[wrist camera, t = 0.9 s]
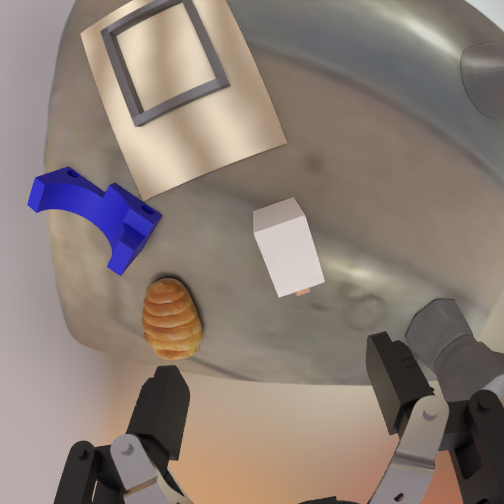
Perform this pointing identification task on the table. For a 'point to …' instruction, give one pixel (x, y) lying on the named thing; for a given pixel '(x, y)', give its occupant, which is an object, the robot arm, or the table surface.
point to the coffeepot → (454, 352)
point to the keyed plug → (287, 247)
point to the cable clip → (99, 211)
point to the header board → (179, 90)
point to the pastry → (171, 320)
